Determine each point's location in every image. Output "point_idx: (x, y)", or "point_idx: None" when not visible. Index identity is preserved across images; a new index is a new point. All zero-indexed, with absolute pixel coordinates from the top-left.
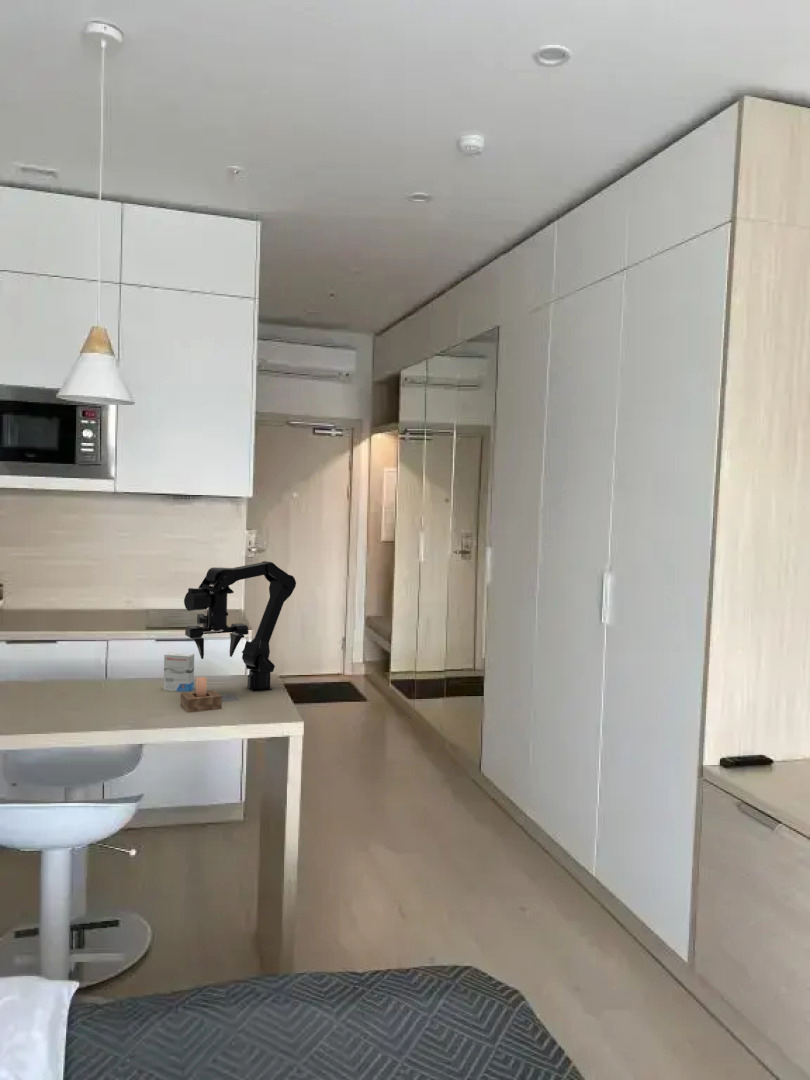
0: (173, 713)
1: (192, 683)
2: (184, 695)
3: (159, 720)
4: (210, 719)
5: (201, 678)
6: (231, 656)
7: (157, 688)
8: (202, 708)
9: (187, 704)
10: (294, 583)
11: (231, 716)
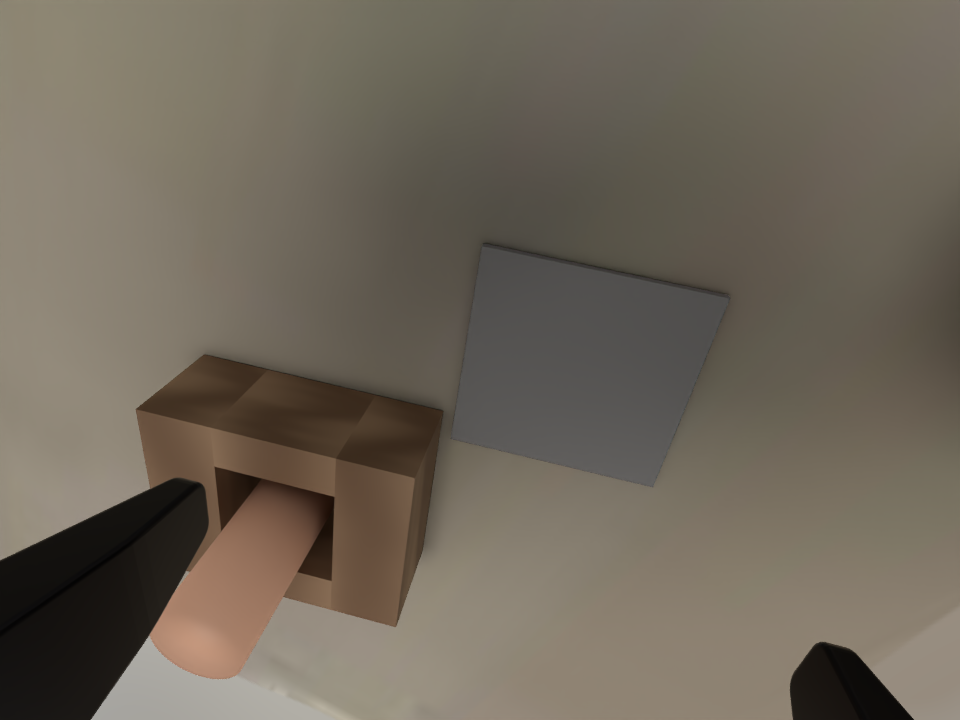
0: (139, 454)
1: None
2: (154, 475)
3: (57, 509)
4: (298, 630)
5: (193, 651)
6: (804, 692)
7: None
8: None
9: None
10: None
11: (412, 655)
